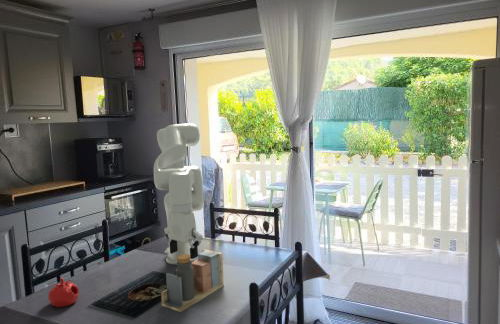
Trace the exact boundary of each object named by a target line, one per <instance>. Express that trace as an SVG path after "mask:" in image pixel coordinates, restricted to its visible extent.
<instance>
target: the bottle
mask: <svg viewBox="0 0 500 324" xmlns="http://www.w3.org/2000/svg"><path fill="white" fill-rule="evenodd" d="M177 259H178V261H177V265H176V266H177V267H176V270H175V271H176V273H175V275H177V276H180V277H181V283H182V299H183V301H188V300H191V299H193V298H194V276H193V267H192V266H190V265H191V264H192V262H193V261H191V260H190V255H188V254H183V255H179V256H178V257H177Z"/></svg>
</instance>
